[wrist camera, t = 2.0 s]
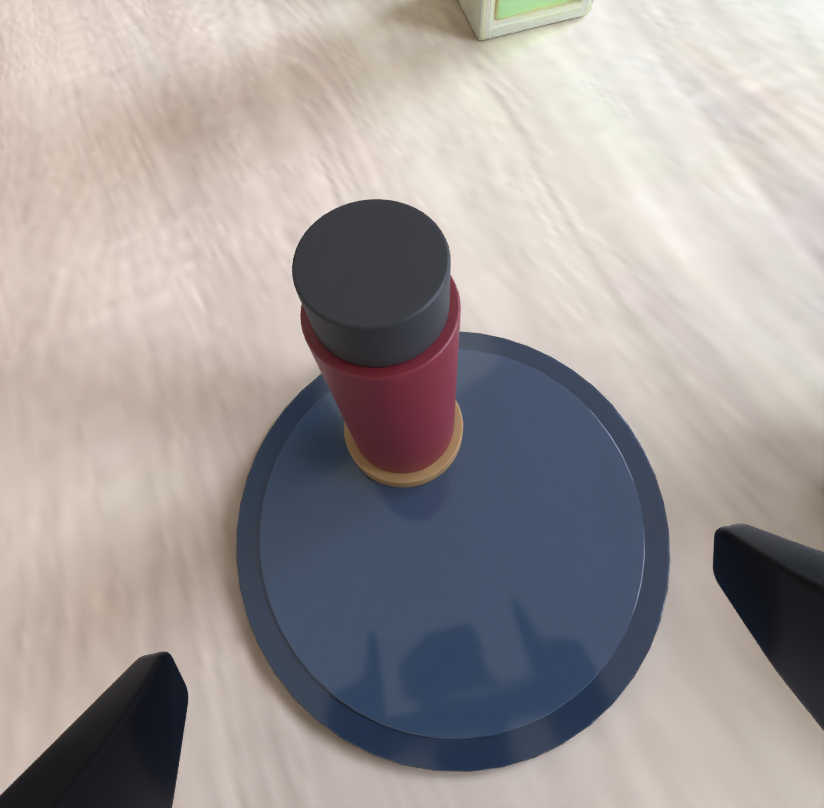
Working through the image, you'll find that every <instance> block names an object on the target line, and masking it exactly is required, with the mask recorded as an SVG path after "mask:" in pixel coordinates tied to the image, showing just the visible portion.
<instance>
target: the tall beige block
mask: <svg viewBox="0 0 824 808" xmlns="http://www.w3.org/2000/svg"><path fill="white" fill-rule="evenodd" d="M458 1H459V3H460V5H461V7H462V9H463V11H464V13H465V15H466V17H467V19H468V21H469V23H470V25H471V27H472V29H473V31H474V33H475V35H476V37H477V39H478V40H486V39H491V38H495V37H499V36H503V35H507V34H511V33H515V32H519V31H523V30H527V29H531V28H535V27H539V26H543V25H547V24H551V23H555V22H560V21H564V20H568V19H572V18H577V17H581V16H585V15H587V14H588V13H589V12H590V10H591V8H592V5H593V1H594V0H458Z"/></svg>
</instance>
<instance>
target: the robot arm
mask: <svg viewBox="0 0 824 808" xmlns="http://www.w3.org/2000/svg"><path fill="white" fill-rule="evenodd" d="M713 572H714V575H715V578H716V580H717V582H718V584H719V586H720V587H721V589H722V590H723V592H724V593H725V595H726V596H727V598H728V599H729V601H730V602H731V604H732V605H733V607H734V609H735V610H736V612H737V613H738V615H739V616H740V618H741V619H742V621H743V622H744V624H745V625H746V627H747V628H748V630H749V631H750V633H751V634H752V636H753V637H754V639H755V640H756V642H757V643H758V645H759V646H760V648H761V650H762V651H763V653H764V654H765V656H766V657H767V658H768V660H769V661H770V663H771V664H772V666H773V667H774V668H775V670H776V671H777V672H778V674H779V675H780V676H781V678H782V679H783V680H784V682H785V683H786V684H787V685H788V687H789V688H790V689H791V690H792V692H793V693H794V694H795V695H796V697H797V698H798V699H799V700H800V702H801V703H802V704H803V705H804V707H805V708H806V709H807V710H808V712H809V713H810V714H811V715H812V717H813V718H814V719H815V720H816V722H817V723H818V724H819V725H820V727H821V728H822V729H823V730H824V552H822V551H819V550H816V549H813V548H810V547H808V546H805V545H802V544H799V543H797V542H794V541H791V540H788V539H785V538H783V537H780V536H777V535H774V534H772V533H769V532H766V531H763V530H760V529H758V528H755V527H752V526H749V525H746V524H734V525H730V526H725V527H721V528H719V529H717V530H716V532H715V535H714V552H713ZM187 706H188V691H187V687H186V684H185V682H184V680H183V678H182V676H181V674H180V672H179V670H178V668H177V666H176V664H175V662H174V660H173V658H172V656H171V655H170V654H169V653H168V652H158V653H154V654H149V655H145V656H142V657H140V658H138V659H137V660H136V661H135V662H134V663H133V664H132V665H131V666H130V667H129V668H128V669H127V670H126V671H125V672H124V673H123V674H122V675H121V676H120V677H119V678H118V679H117V680H116V681H115V682H114V683H113V684H112V685H111V686H110V687H109V688H108V689H107V690H106V691H105V692H104V693H103V694H102V695H101V696H100V697H99V698H98V699H97V700H96V701H95V702H94V703H93V704H92V705H91V706H90V707H89V708H88V709H87V710H86V711H85V712H84V713H83V714H82V715H81V716H80V717H79V718H78V719H77V720H76V721H75V722H74V723H73V724H72V725H71V726H70V727H69V728H68V729H67V730H66V731H65V732H64V733H63V734H62V735H61V736H60V737H59V738H58V739H57V740H56V741H55V742H54V743H53V744H52V745H51V746H50V747H49V748H48V749H47V750H46V751H45V752H44V753H43V754H42V755H41V756H40V757H39V758H38V759H37V760H35V761H34V762H33V763H32V764H31V765H30V766H29V767H28V768H27V769H26V770H25V771H24V772H23V773H22V774H21V775H20V776H19V777H18V778H17V779H16V780H15V781H14V782H13V783H12V784H11V785H10V786H9V787H8V788H7V789H6V790H5V791H4V792H3V793H2V794H1V795H0V808H172V805H173V799H174V793H175V787H176V780H177V774H178V767H179V760H180V753H181V747H182V740H183V733H184V726H185V720H186V713H187Z"/></svg>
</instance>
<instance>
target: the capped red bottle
mask: <svg viewBox="0 0 824 808" xmlns="http://www.w3.org/2000/svg"><path fill="white" fill-rule="evenodd" d="M450 265H451V263H450V251H449V246H448V243H447V241H446V238H445V237H444V235H443V233H442V231H441V230H440V228H439V227H438V226H437V225H436V223H435V222H434V221H433V220H432V219H431V218H430V217H428V216H427V215H426V214H424V213H423V212H421V211H420V210H418V209H416V208H414V207H412V206H409V205H407V204H404V203H400V202H397V201H391V200H381V199H373V200H362V201H357V202H352V203H349V204H346V205H343V206H340V207H338V208H336V209H334V210H332V211H330V212H328V213H327V214H325V215H323V216H322V217H321V218H319V219H318V220H317V221H316V222H315V223H314V224H313V225H312V226H311V227H310V228H309V229H308V230H307V231H306V232H305V234H304V235H303V237H302V238H301V240H300V242H299V244H298V246H297V248H296V251H295V255H294V258H293V265H292V276H293V281H294V286H295V288H296V291H297V294H298V296H299V298H300V300H301V303H302V305H301V314H300V315H301V326H302V331H303V334H304V337H305V340H306V342H307V344H308V346H309V348H310V350H311V352H312V354H313V356H314V358H315V360H316V363H317V365H318V367H319V369H320V371H321V373H322V375H323V377H324V379H325V381H326V383H327V385H328V387H329V389H330V392H331V394H332V396H333V398H334V400H335V402H336V404H337V406H338V408H339V410H340V412H341V414H342V416H343V418H344V421H345V422H344V436H345V441H346V445H347V448H348V450H349V452H350V454H351V456H352V458H353V460H354V462H355V463H356V464H357V466H358V467H359V468H360V469H361V470H362V471H363V472H364V473H365V474H366V475H367V476H369V477H370V478H372V479H373V480H375V481H377V482H379V483H382V484H384V485H388V486H392V487H414V486H418V485H422V484H425V483H427V482H430V481H432V480H433V479H435V478H437V477H438V476H440V475H441V474H442V473H443V472H444V471H445V470H446V469H447V468H448V467H449V466H450V465H451V464H452V462H453V461H454V459H455V458H456V456H457V454H458V451H459V449H460V446H461V442H462V434H463V419H462V413H461V410H460V407H459V405H458V403H457V401H456V382H457V365H458V347H459V330H460V312H461V307H460V297H459V292H458V290H457V287H456V284H455V282H454V280H453V278H452V277H451V275H450Z"/></svg>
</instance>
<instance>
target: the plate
mask: <svg viewBox="0 0 824 808" xmlns="http://www.w3.org/2000/svg"><path fill="white" fill-rule="evenodd" d="M456 401H457V403H458V405H459V407H460V410H461V413H462V419H463V434H462V442H461V446H460V449H459V451H458V454H457V456H456V458H455V459H454V461H453V462H452V464H451V465H450V466H449V467H448V468H447V469H446V470H445V471H444V472H443V473H442V474H441V475H440V476H438V477H437V478H435V479H433V480H432V481H430V482H427V483H425V484H422V485H418V486H414V487H392V486H388V485H384V484H382V483H379V482H377V481H375V480H373V479H372V478H370V477H369V476H367V475H366V474H365V473H364V472H363V471H362V470H361V469H360V468H359V467H358V466H357V464H356V463H355V462H354V460H353V458H352V456H351V454H350V452H349V450H348V448H347V445H346V441H345V436H344V422H345V421H344V418H343V416H342V414H341V412H340V410H339V408H338V406H337V404H336V402H335V400H334V398H333V396H332V394H331V392H330V389H329V387H328V385H327V383H326V381H325V379H324V377H323V375H322V374H320V375H319V376H318V377H317V378H316V379H315V380H314V381H312V382H311V383H310V384H309V385H308V386H307V387H305V388H304V389H303V390H302V391H301V392H300V393H299V394H298V395H297V396H296V397H295V399H294V400H293V401H292V402H291V403H290V404H289V405H288V406H287V407H286V408H285V410H284V411H283V412H282V414H281V415H280V417H279V418H278V419H277V421H276V422H275V423H274V425H273V426H272V428H271V429H270V431H269V432H268V434H267V436H266V438H265V440H264V441H263V443H262V445H261V447H260V449H259V451H258V452H257V455H256V457H255V460H254V462H253V465H252V467H251V470H250V472H249V475H248V477H247V481H246V485H245V488H244V492H243V496H242V500H241V504H240V511H239V518H238V526H237V568H238V576H239V584H240V590H241V594H242V598H243V602H244V606H245V610H246V614H247V618H248V620H249V623H250V625H251V628H252V630H253V632H254V635H255V637H256V640H257V642H258V645H259V647H260V649H261V650H262V652H263V654H264V656H265V657H266V659H267V661H268V663H269V664H270V666H271V668H272V670H273V671H274V673H275V674H276V676H277V677H278V678H279V679H280V681H281V682H282V683H283V685H284V686H285V687H286V689H287V690H288V691H289V692H290V694H291V695H292V696H293V698H294V699H295V700H297V701H298V702H299V703H300V704H301V705H302V706H303V707H304V708H305V709H306V710H307V711H308V712H309V713H310V714H311V715H312V716H313V717H314V718H315V719H316V720H317V721H319V722H320V723H321V724H323V725H324V726H325V727H327V728H328V729H330V730H331V731H332V732H334V733H335V734H336V735H338V736H339V737H341V738H342V739H344V740H346V741H347V742H349V743H351V744H353V745H355V746H357V747H359V748H361V749H363V750H365V751H367V752H368V753H370V754H373V755H375V756H378V757H381V758H384V759H387V760H390V761H393V762H396V763H399V764H402V765H406V766H411V767H417V768H422V769H428V770H433V771H460V772H471V771H478V770H486V769H493V768H501V767H505V766H508V765H511V764H515V763H518V762H522V761H525V760H528V759H532V758H535V757H537V756H539V755H541V754H543V753H545V752H547V751H549V750H551V749H553V748H555V747H557V746H560V745H562V744H564V743H565V742H567V741H568V740H569V739H571V738H572V737H574V736H575V735H577V734H578V733H580V732H581V731H583V730H584V729H585V728H587V727H588V726H590V725H591V724H592V723H593V722H594V721H595V720H596V719H597V718H598V717H600V716H601V715H602V714H603V713H604V712H605V711H606V710H607V709H608V708H609V707H610V706H611V705H612V704H613V703H614V702H615V701H616V700H617V698H618V697H619V696H620V694H621V693H622V692H623V691H624V689H625V688H626V687H627V686H628V684H629V683H630V682H631V680H632V679H633V678H634V676H635V674H636V673H637V671H638V669H639V667H640V666H641V664H642V662H643V660H644V658H645V657H646V655H647V653H648V651H649V649H650V647H651V644H652V642H653V639H654V636H655V634H656V631H657V629H658V626H659V623H660V621H661V617H662V612H663V608H664V604H665V599H666V595H667V590H668V579H669V567H670V547H669V530H668V524H667V518H666V513H665V507H664V502H663V499H662V495H661V492H660V489H659V486H658V483H657V480H656V476H655V474H654V472H653V469H652V467H651V465H650V463H649V461H648V458H647V456H646V454H645V452H644V450H643V448H642V446H641V445H640V443H639V441H638V440H637V438H636V437H635V435H634V433H633V432H632V430H631V428H630V427H629V425H628V424H627V423H626V422H625V420H624V419H623V418H622V417H621V415H620V414H619V413H618V412H617V410H616V409H615V408H614V407H613V405H612V404H611V403H610V402H609V401H608V400H607V399H606V398H605V397H604V396H603V395H602V394H601V393H600V392H599V391H598V390H597V389H596V388H595V387H594V386H592V385H591V384H590V383H589V382H587V381H586V380H585V379H584V378H582V377H581V376H580V375H578V374H577V373H576V372H575V371H573V370H572V369H570V368H568V367H567V366H565V365H564V364H562V363H560V362H559V361H557V360H555V359H554V358H552V357H550V356H548V355H546V354H544V353H542V352H539V351H537V350H535V349H533V348H531V347H529V346H526V345H523V344H520V343H517V342H514V341H511V340H508V339H504V338H500V337H495V336H490V335H485V334H480V333H470V332H459V347H458V365H457V382H456Z"/></svg>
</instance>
